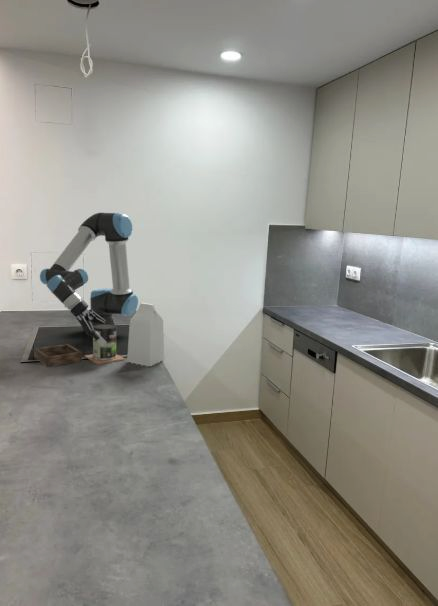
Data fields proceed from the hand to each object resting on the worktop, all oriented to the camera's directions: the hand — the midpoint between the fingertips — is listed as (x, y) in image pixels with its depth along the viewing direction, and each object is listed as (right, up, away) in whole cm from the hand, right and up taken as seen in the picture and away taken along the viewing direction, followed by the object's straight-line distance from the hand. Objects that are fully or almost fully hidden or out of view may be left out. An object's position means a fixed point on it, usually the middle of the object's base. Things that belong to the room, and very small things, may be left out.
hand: (109, 340), depth 205 cm
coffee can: (-3, -8, +2) cm, 8 cm away
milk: (+16, -9, +1) cm, 19 cm away
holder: (-22, -8, -3) cm, 23 cm away
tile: (-3, -8, +2) cm, 9 cm away
